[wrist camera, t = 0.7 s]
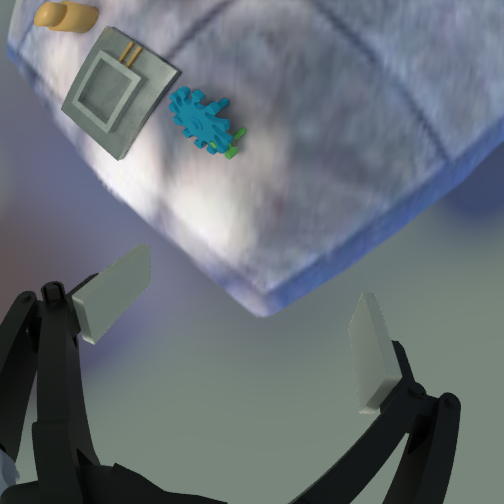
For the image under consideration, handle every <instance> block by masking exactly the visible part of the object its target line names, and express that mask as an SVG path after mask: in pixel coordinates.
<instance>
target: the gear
mask: <svg viewBox="0 0 504 504" xmlns="http://www.w3.org/2000/svg"><path fill="white" fill-rule="evenodd" d="M190 93H191V91H190V89H189V88H188V87H184V86H182V87H181V88H180V89H178V90H177V91H176V92H174V93H173V94H171V95H170V96H169V97H170V99H171V100H172V101H173V102H172V103H171V104H169V109H170V110H171V111H172V112H174V113H176V114H177V115H176V116H174V117H173V119H174V122H175V124H177V125H183V126H185V127H186V128H185V129H184V130H183V131H182V132H183V134H184V135H185V137H186V138H189V137H190V136H191V135H193V136H196V137H197V138H198V139H197V140H196V141H195V142H194V144H195V145H196V146H197V147H198V148H200V149H201V148H202V147H203V146H204V145H205V142H207V144H208V147H207V151H208V152H209V153H211V154H213V155H214V154H215V153H216V152H217V151H218V152H219V153H225V156H226V158H228V159H231V158H232V157H233V156H235V155H236V154H237V153H238V150H237V149H236V148H235V146H236V145H237V141H236V140H237V139H238V138H239V137H241V136H242V135H243V134H244V133H245V132H246V129H245V128H241V129H240V130H239V131H238V132H236V133H235V134H234V135H232V134H231V133H230V132H229V131H228V129H229V128H230V123H229V120H227V119H220V118H217V117H216V116H215V114H216V113H218V112H219V111H220V110H221V109H222V108H224V107H225V106H226V105H228V104H229V101H228V100H227V99H226V98H223V99H222V100H220V101H219V102H217V103H216V102H212V103H210V104H209V105H207V106H203V105H202V104H201V103H200V101H201V100H202V99H204V98H205V95H204V93H203V92H201V91H200V90H199V89H197V90H196V91H194V92H193V93H192V94H191V97H192V101H191V100H190V98H189V94H190ZM227 150H228V151H227Z"/></svg>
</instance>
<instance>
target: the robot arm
mask: <svg viewBox="0 0 504 504" xmlns="http://www.w3.org/2000/svg"><path fill="white" fill-rule="evenodd" d="M150 248H151V247H150V245H147V244H142V243H140V244H138V245H137V246H136V247H134V248H133V249H132V250H130V251H129V252H127V253H126V254H125V255H123V256H122V257H120V258H119V259H118V260H116V261H115V262H114V263H113V264H111V265H110V266H109V267H107V268H106V269H105V270H103V271H102V272H101V273H100V274H99V273H96V274H93V275H91V276H89V277H88V278H86V279H85V280H84V282H81V283H80V284H79V285H77V287H75V288H74V289H72V290H71V291H70V292H69V293H67V294H65V290H64V286H63V284H62V283H61V282H58V281H53V282H49V283H47V284H45V285H44V286H43V287H42V288H41V293H42V296H43V300H44V301H40V300H37V297H36V294H35V293H34V292H33V291H25V292H22V293H21V294H19V296H17V298H16V299H15V301H14V303H13V304H12V306H11V308H10V310H9V311H8V313H7V314H6V316H5V318H4V320H3V322H2V323H1V325H0V504H227V502H223V501H218V500H214V499H210V498H207V497H202V496H199V495H190V494H180V493H172V492H167V491H164V490H162V489H161V488H159V487H158V486H156V485H154V484H153V483H152V482H150V481H149V480H147V479H146V478H145V477H143V476H142V475H140V474H138V473H136V472H134V471H131V470H129V469H127V468H125V467H123V466H121V465H119V464H117V463H115V464H114V466H113V467H112V466H105V465H101V464H100V462H99V459H98V457H97V455H96V453H95V451H94V448H93V444H92V440H91V435H90V430H89V425H88V420H87V415H86V409H85V403H84V396H83V389H82V380H81V371H80V358H79V342H78V337H77V334H78V333H79V332H80V331H81V333H82V336H83V339H84V340H86V341H88V342H90V343H92V344H95V343H96V342H97V341H98V340H99V339H100V338H101V337H102V335H103V334H104V333H105V332H106V331H107V330H108V329H109V328H110V326H111V325H112V324H113V323H114V322H115V321H116V320H117V319H118V318H119V316H120V315H121V314H122V313H123V312H124V311H125V310H126V309H127V308H128V307H129V306H130V305H131V303H133V302H134V301H135V300H136V298H137V297H138V296H139V295H140V294H141V293H142V292H143V291H144V290H145V289H146V288H147V287H148V286H149V285H150V284H151V255H150V254H151V253H150V252H151V251H150ZM26 330H27V332H26ZM348 330H349V335H350V342H351V349H352V355H353V362H354V370H355V378H356V385H357V395H358V404H359V413H363V414H364V413H365V414H374V413H375V412H376V410H377V409H378V408H379V407H380V412H381V414H380V415H379V416H378V417H377V419H376V420H375V421H374V422H373V423H372V424H371V426H370V427H369V428H368V429H367V430H366V432H365V433H364V434H363V435H362V436H361V437H360V438H359V439H358V441H357V442H356V443H355V444H354V445H353V446H352V447H351V448H350V449H349V450H348V451H347V452H346V453H345V454H344V455H343V456H342V457H341V458H340V459H339V460H338V461H337V462H336V463H335V464H334V465H333V466H332V467H331V468H330V469H329V470H328V471H327V472H326V473H325V474H324V475H322V476H321V477H320V478H319V479H318V480H317V481H315V482H314V483H313V484H312V485H311V486H310V487H308V488H307V489H306V490H305V491H304V492H302V493H301V494H300V495H299V496H297V497H296V498H295V499H293V500H292V501H291V502H290V503H288V504H350V503H351V502H352V501H353V500H354V498H355V497H356V496H357V495H358V494H359V493H360V492H361V491H362V490H363V489H364V488H365V486H366V485H367V484H368V483H369V482H370V480H371V479H372V478H373V477H374V476H375V475H376V473H377V472H378V471H379V470H380V468H381V467H382V466H383V464H384V463H385V462H386V460H387V459H388V458H389V456H390V455H391V454H392V452H393V451H394V450H395V448H396V447H397V445H398V444H399V442H400V441H401V439H402V438H403V436H404V435H405V433H409V437H408V440H407V443H406V446H405V449H404V452H403V455H402V458H401V461H400V463H399V466H398V469H397V471H396V474H395V476H394V478H393V481H392V483H391V486H390V488H389V490H388V492H387V495H386V497H385V499H384V501H383V503H382V504H443V501H444V498H445V494H446V491H447V487H448V484H449V479H450V475H451V471H452V466H453V462H454V456H455V451H456V444H457V438H458V431H459V422H460V411H461V404H460V401H459V399H458V398H457V397H456V396H455V395H454V394H452V393H448V392H447V393H444V394H443V395H441V396H440V397H439V398H435V397H432V396H429V395H427V394H426V391H425V389H424V387H423V386H422V385H420V384H419V383H417V382H415V380H414V377H413V374H412V371H411V367H410V364H409V363H408V359H407V357H406V353H405V350H404V348H403V346H402V345H401V344H400V343H399V342H398V341H392V340H391V338H390V335H389V332H388V329H387V326H386V324H385V321H384V318H383V315H382V312H381V310H380V307H379V304H378V302H377V299H376V296H375V294H374V293H371V292H366V291H363V292H362V294H361V297H360V300H359V302H358V305H357V307H356V309H355V312H354V315H353V317H352V319H351V321H350V324H349V326H348ZM36 371H37V417H38V418H37V422H34V423H33V424H32V440H33V450H34V458H35V464H36V471H37V476H38V480H37V481H33V482H28V483H23V484H17V485H16V481H18V480H19V478H20V475H19V472H18V471H17V470H16V466H15V462H16V459H17V456H18V452H19V447H20V442H21V435H22V430H23V424H24V419H25V414H26V410H27V405H28V401H29V396H30V393H31V389H32V385H33V382H34V378H35V375H36Z"/></svg>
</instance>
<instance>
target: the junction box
mask: <svg viewBox="0 0 504 504" xmlns="http://www.w3.org/2000/svg"><path fill="white" fill-rule="evenodd" d="M180 74H181V72H180V71H179V70H178V69H176V68H175V67H173V66H172V65H171V64H169V63H168V62H166V61H165V60H163V59H162V58H160V57H159V56H157V55H156V54H154V53H153V52H151V51H150V50H148V49H147V48H145V47H144V46H142V45H141V44H139V43H138V42H136V41H134V40H133V39H131V38H129V37H128V36H126V35H125V34H123V33H121V32H120V31H118V30H116V29H114V28H113V27H109V26H106V27H105V29H104V30H103V32H102V33H101V35H100V36H99V38H98V40H97V41H96V43H95V44H94V46H93V48H92V49H91V51H90V53H89V54H88V56H87V58H86V59H85V61H84V63H83V65H82V67H81V68H80V70H79V72H78V74H77V76H76V78H75V80H74V82H73V84H72V86H71V88H70V90H69V92H68V94H67V96H66V99H65V101H64V103H63V105H62V108H61V110H62V111H63V112H64V113H65V114H66V115H68V116H69V117H70V118H71V119H72V120H73V121H74V122H75V123H76V124H77V125H78V126H80V127H81V128H82V129H83V130H84V131H85V132H86V133H87V134H88V135H89V136H91V137H92V138H93V139H94V140H95V141H96V142H97V143H98V144H99V145H101V146H102V147H103V148H104V149H105V150H106V151H107V152H108V153H109V154H111V155H112V156H113V157H114V158H115V159H116V160H117V161H119V160H121V159H123V158H124V156H125V154H126V153H127V151H128V149H129V148H130V146H131V144H132V143H133V141H134V139H135V138H136V136H137V134H138V133H139V131H140V130H141V128H142V127H143V125H144V123H145V122H146V120H147V119H148V117H149V116H150V114H151V113H152V111H153V110H154V109H155V107H156V106H157V104H158V103H159V101H160V100H161V99H162V97H163V96H164V94H165V93H166V92H167V90H168V89H169V88H170V86H171V85H172V84H173V83H174V81H175V80H176V79H177V77H178V76H179V75H180Z"/></svg>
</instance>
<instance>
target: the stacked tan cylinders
mask: <svg viewBox="0 0 504 504" xmlns="http://www.w3.org/2000/svg"><path fill="white" fill-rule="evenodd" d="M97 18H98V10H97V8H95V7H92V6H88V5H84V4H79V3H75V2H70V1H62V2H61V3H54V2H46V3H44V4H43V5H42V6H41V7H40V8H39V9H38V11H37V13H36V15H35V19H34V24H35V26H46V27H48V28H49V29H50V30H53V31H66V32H76V33H85V32H87V31H88V30H90V29H91V28H92V27H93V25H94V24H95V22H96V20H97Z"/></svg>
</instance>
